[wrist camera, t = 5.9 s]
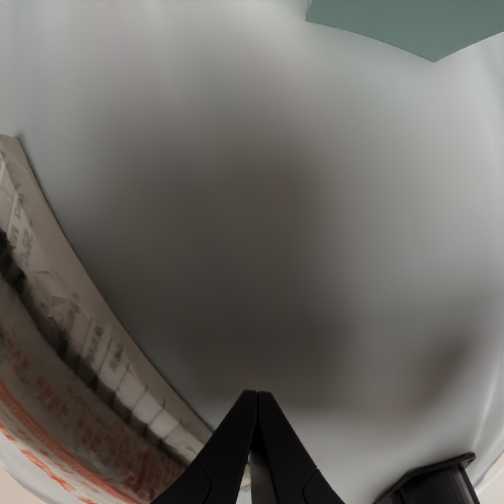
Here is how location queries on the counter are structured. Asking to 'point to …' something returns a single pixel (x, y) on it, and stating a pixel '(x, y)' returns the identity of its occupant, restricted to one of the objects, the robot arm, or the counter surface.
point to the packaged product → (78, 365)
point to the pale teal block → (414, 22)
